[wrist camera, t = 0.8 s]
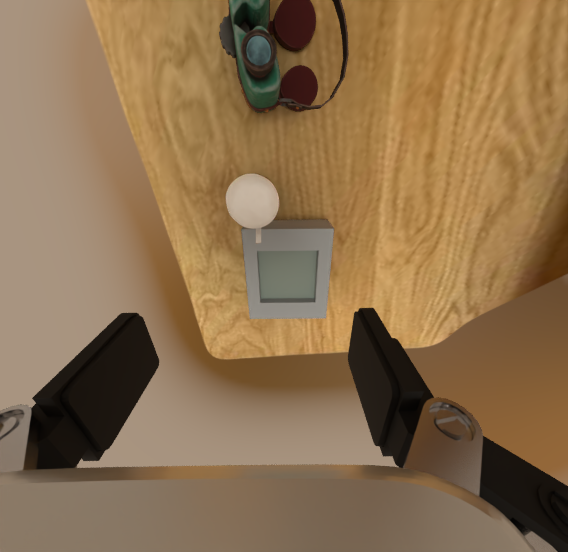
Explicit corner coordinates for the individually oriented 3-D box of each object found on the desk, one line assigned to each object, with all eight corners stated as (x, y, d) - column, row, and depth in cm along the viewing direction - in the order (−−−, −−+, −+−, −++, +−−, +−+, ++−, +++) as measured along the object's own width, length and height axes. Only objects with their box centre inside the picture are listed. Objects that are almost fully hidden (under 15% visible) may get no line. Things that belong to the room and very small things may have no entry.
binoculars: (380, 82, 15) (225, 99, 14) (332, 113, 24) (238, 123, 24) (397, -161, 11) (181, -149, 10) (332, -11, 20) (217, -1, 20)
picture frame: (246, 220, 28) (241, 229, 25) (327, 219, 28) (334, 228, 25) (253, 301, 34) (249, 318, 30) (321, 300, 34) (325, 318, 30)
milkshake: (248, 220, 28) (232, 248, 19) (237, 173, 26) (212, 181, 17) (284, 213, 28) (284, 239, 19) (276, 166, 26) (272, 169, 17)
